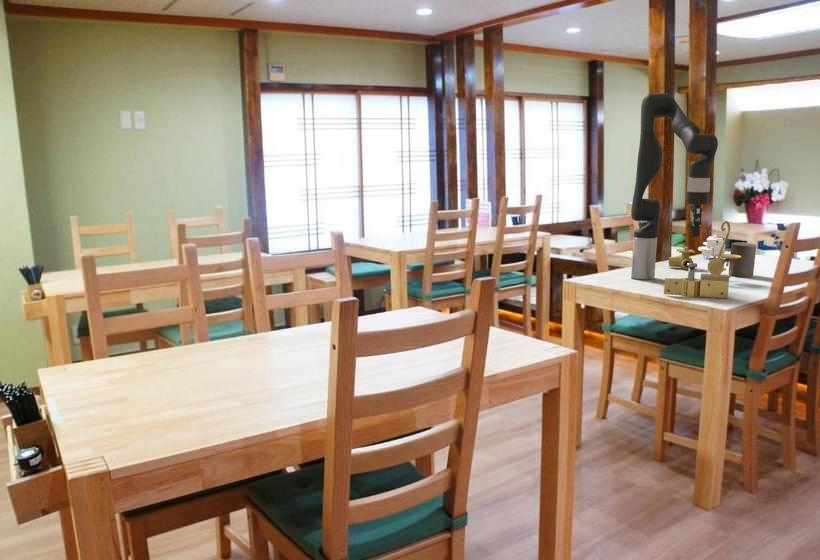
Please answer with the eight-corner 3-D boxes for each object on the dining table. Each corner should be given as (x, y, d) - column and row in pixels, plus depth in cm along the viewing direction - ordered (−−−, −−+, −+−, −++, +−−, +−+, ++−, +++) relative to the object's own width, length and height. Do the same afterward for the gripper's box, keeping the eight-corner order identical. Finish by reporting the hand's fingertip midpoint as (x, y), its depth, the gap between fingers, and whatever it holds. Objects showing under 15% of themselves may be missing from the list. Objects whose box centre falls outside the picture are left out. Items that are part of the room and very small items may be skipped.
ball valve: (695, 271, 300) (697, 248, 298) (671, 270, 302) (672, 248, 300) (689, 266, 312) (691, 245, 310) (666, 265, 314) (667, 244, 312)
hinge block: (663, 295, 248) (665, 274, 246) (663, 292, 254) (664, 271, 253) (727, 299, 241) (729, 277, 240) (725, 295, 248) (727, 274, 246)
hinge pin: (695, 297, 246) (697, 264, 243) (684, 296, 247) (687, 264, 245) (694, 295, 249) (697, 263, 247) (683, 294, 250) (686, 262, 248)
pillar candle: (724, 275, 288) (728, 240, 285) (733, 272, 294) (736, 238, 292) (748, 278, 281) (752, 243, 278) (756, 275, 288) (760, 240, 285)
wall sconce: (725, 285, 266) (730, 222, 261) (702, 282, 273) (707, 220, 269) (743, 281, 274) (749, 220, 269) (721, 278, 281) (726, 218, 277)
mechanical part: (704, 256, 341) (706, 233, 338) (728, 259, 332) (730, 235, 329) (693, 258, 334) (695, 234, 331) (717, 261, 324) (719, 237, 322)
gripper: (711, 191, 234) (707, 238, 237) (707, 189, 247) (704, 233, 250) (688, 191, 236) (684, 237, 240) (685, 189, 250) (682, 232, 253)
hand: (694, 235), depth 245 cm, fingers open, 8 cm apart
